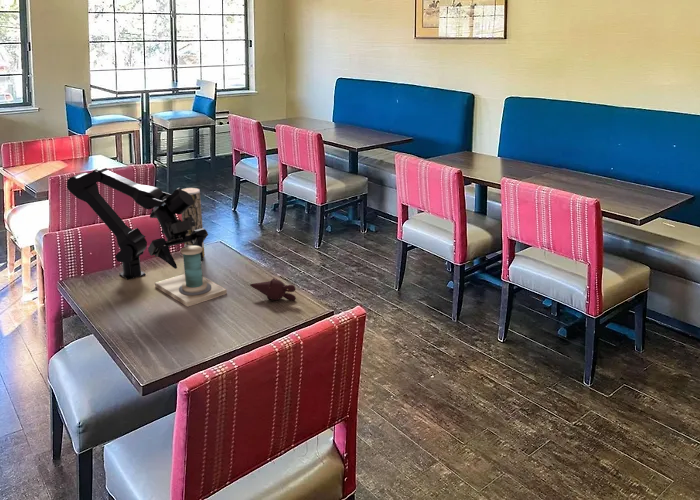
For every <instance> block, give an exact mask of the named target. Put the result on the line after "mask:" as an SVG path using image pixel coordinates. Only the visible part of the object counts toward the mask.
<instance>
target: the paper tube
mask: <svg viewBox="0 0 700 500" xmlns="http://www.w3.org/2000/svg"><path fill="white" fill-rule="evenodd" d="M181 190H183V191H186V192H187V193H188V194H190V195H191V196H192V198H193V200H194V204H193V205H192V206H190V207H189V208H188V209H187V210H185V211H184V212H183V213H182V214H181V221H185V218H187V217H191V216H192V217H193V219H194V221H195V226H193V227H191V228H192V230H188V233H187V234H186V236H188V235H191V234H192V232H193V231H194V230H197V229H201V228H204V227H203V215H202V214H203V213H202V204H201V203H202V202H201V191H200V190H201V189H200V188H197V187H186V188H185V187H184V188H181ZM204 241H205V240H204ZM204 241H203V242H202V251H203V258H204V257H205V243H204ZM183 244H184V246H183V247H186V246H193V244H192V243H191V242H190V241H189V242H185V243H183Z"/></svg>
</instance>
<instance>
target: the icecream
mask: <svg viewBox="0 0 700 500" xmlns="http://www.w3.org/2000/svg"><path fill="white" fill-rule="evenodd" d="M249 286H250V287H251V288H253V289H255V290H257V291H258V292H259V293H261V294H263V295H265V296H266V297H267V299H268V301H270V300H271V301H277V300H281V299H282V298H284V299H286V300H288V301H291V300H292V302H294V301H296V300H297V297H296V296H295V295H294V294H292V293H294V292H295V291H297V289H296V286H295V285H293V284H287V285H285V283H284V282H282V281H281V280H279V279H276V278H274V277H273V278H272V279H271V280H269V281H262V282H257V283H256V282H255V283H250V285H249Z"/></svg>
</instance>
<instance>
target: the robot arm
mask: <svg viewBox="0 0 700 500" xmlns="http://www.w3.org/2000/svg"><path fill="white" fill-rule="evenodd" d="M97 183H100V184H102V185H105V186H107V187H109V188H110V189H113V190H115V191H118V192H120V193H122V194H124V195H126V196H128V197H130V198H131V199H133V201H134V202H135V203H136V204H137V205H139V206H140V207H142V208H143V209H145V210H151V213H150V214H149V218H150V219H152V218H153V219H157V221H158V223H159V225H160V228H161V231H160V232H161V234H162V235H165V238H166V239H165V238H164V237H160V238H156V239H152V240H151V243H150V244H149V245H148V241H147V239H146V235H144V234H143V233H142V232H141V231H140V229H139V228H138V227H135V228H134V229H133V228H130V227H129V226H128V225H127V224H126V223H125V222H124V220H123V219H122V218H121V217H120V215H118V214H117V212H116V211H115V210H114V209H113V208H112V206H111V205H110V204H109V203H108V201H106V199H105V198H104V197H103V196H102V194H100V191H99V187H98V184H97ZM66 189H67V190H68V192H70V194H72V195H73V197H75V198H77V199H78V200H81V201H83V202H86V204H87V205H88V206H89V207H90V208H91V209H92V211H93V212H94V213H95V214H96V215H97V216H98V218H99V219H100V220H101V221H102V222H103V223H104V224H105V226H106V227H107V228H108V230H110V232H111V233H112V234H113V235H114V236H115V237H116V242H117V246H118V247H119V249H120V250H119V251H118V252H117V253H116V254H115V260H116V261H117V262H118V263H121V265H122V271H121V272H119V273H118V274H119V275H120V276H121V277H123V278H124V279H125V280H127V281H128V280H132V279H136V278H140V277H143V276H146V272H145V271H142V269H141V268H142V267H141V260H140V259H141V258H140V257H141V255H143V254H144V253H145V251H146V249H147V252H148V253H149V255H150V256H151V257H153V256H154V257H155V258H160V259H161V260H163V261H164V262H166V263H167V264H168V265H169V266H171V267H172V268H173V269H175V270H176V269H177V268H178V265H177V262H176V261H175V259H174V257H173V255H172V253H171V252H170V248H169V247H172V246H177V245H181V244H184V243H185V242H189V241H190V242H191V243H192V244H193V246H200V247H202V242H203V241H205V240H206V238H207V237H208V236H209V233H208V232H207V229H205V228H204V227H203V228H201V229H197V230H194V231H193V232H192V234H191V235H188V236H186V234H187V233H188V230H192V228H191V227H193V226H195V221H194V219H193V217H192V216H191V217H187V218H185V221H182V219H181V218H180V219H178V216H177V215H182V213H183V212H184V211H185V210H187V209H188V208H189V207H190V206H192V205H193V204H194V200H193V198H192V196H191V195H190V194H188V193H187V192H186V191H183V190H182V188H181V187H178V188H176V189H175V190H174V191H173V193H168V192H164V191H163V190H162V189H160V188H159V187H156V186H152V185H148V184H147V185H146V184H140V183H137V182H135V181H133V180H131V179H129V178H126V177H124V176H122V175H120V174H117V173H115V172H113V171H111V170H109V169H108V168H107V167H103V166H102V167H101V166H100V167H99V168H97V169H94V170H92V171H91V172H80V173H79V174H76V175H73V176H70V177H69V178H68V179H67V180H66ZM154 208H155V209H154ZM147 246H148V248H147ZM200 255H201V263H202V262H203V261H204V257H203V251H202V252H201V253H200Z"/></svg>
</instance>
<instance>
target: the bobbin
mask: <svg viewBox="0 0 700 500" xmlns="http://www.w3.org/2000/svg"><path fill="white" fill-rule="evenodd" d="M201 252H202V247H200V246H186V247H184V246H183V247H182V248H180V254H182V255H183V257H182V259H183V267H184V274H185V280H186V282H184V283H183V284H182V290H183V291H185V292H188V293H196V292H201V291H203V290H205V289H206V288H207V282H206V281H204V280H203V279H202V276H203V269H202V262H201V255H200V253H201Z"/></svg>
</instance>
